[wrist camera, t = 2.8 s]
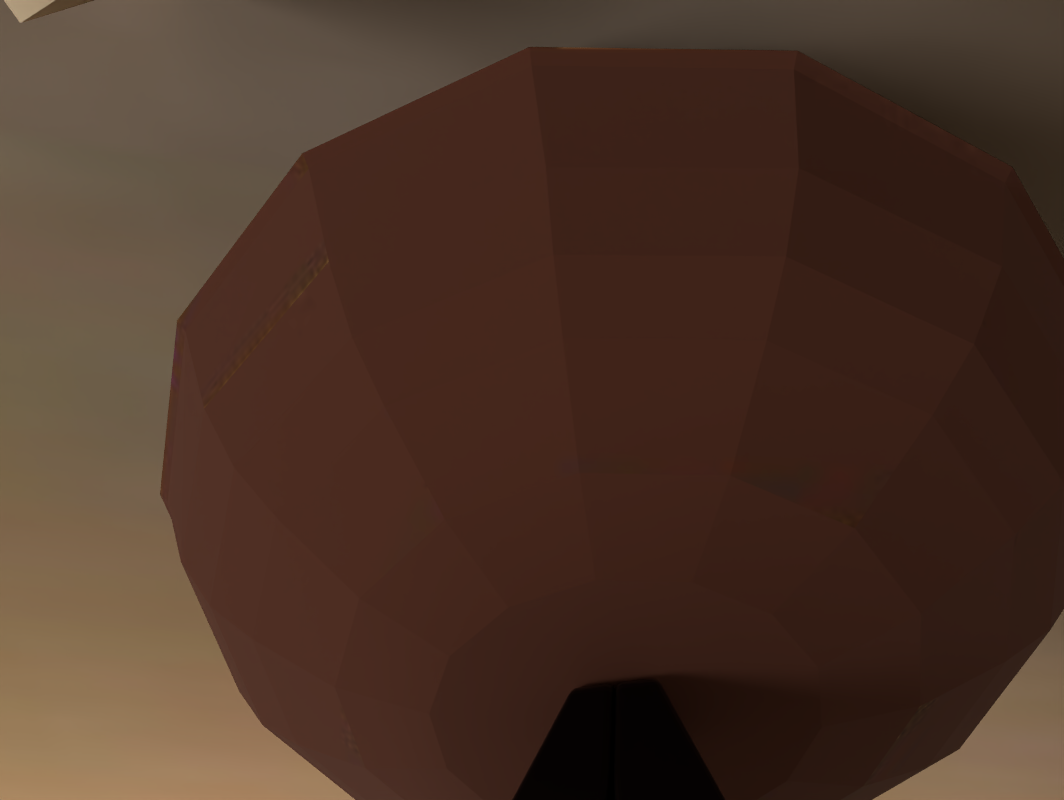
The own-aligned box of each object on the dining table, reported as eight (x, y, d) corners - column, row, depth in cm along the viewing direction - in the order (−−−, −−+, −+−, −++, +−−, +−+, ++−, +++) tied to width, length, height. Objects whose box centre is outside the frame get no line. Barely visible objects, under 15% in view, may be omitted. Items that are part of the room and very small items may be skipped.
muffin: (844, -171, 14) (1228, -190, 6) (1003, 431, 19) (1346, 926, 10) (176, 154, 17) (-250, 472, 9) (458, 605, 22) (368, 1102, 13)
